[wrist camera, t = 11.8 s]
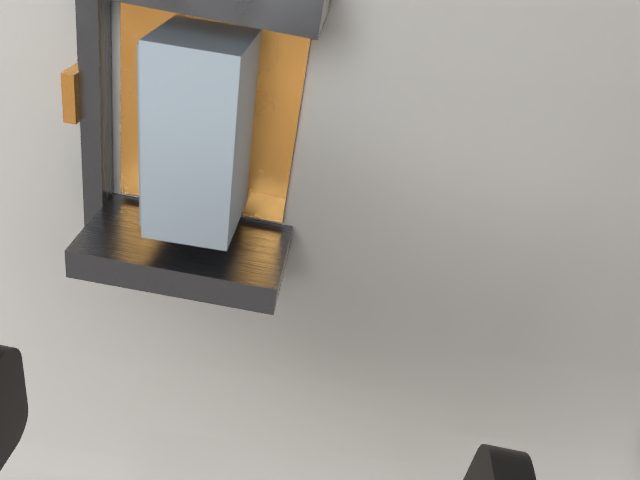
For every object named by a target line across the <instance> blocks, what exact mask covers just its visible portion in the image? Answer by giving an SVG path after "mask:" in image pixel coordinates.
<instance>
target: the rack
mask: <svg viewBox="0 0 640 480" xmlns="http://www.w3.org/2000/svg"><path fill="white" fill-rule="evenodd" d="M111 1H116V2H120V39H121V193H124V194H129V195H135V196H139V159H138V94H137V43H138V42H139V39H141V38H142V37H144V36H145V35H147V34H148V33H150V32H151V31H153V30H154V29H156V28H157V27H158V26H160V25H161V24H163V23H164V22H166V21H167V20H169V19H170V18H172V17H173V16H175V15H178V16H184V17H190V18H196V19H202V20H208V21H214V22H220V23H226V24H232V25H239V26H245V27H251V28H257V29H262V33H261V44H260V56H259V67H258V78H257V90H256V101H255V112H254V124H253V135H252V146H251V158H250V169H249V180H248V192H247V202H246V205H245V207H244V210H243V212H242V215H243V216H248V217H253V218H259V219H264V220H269V221H275V222H280V223H282V221H283V215H284V209H285V202H286V196H287V190H288V183H289V177H290V170H291V164H292V157H293V151H294V144H295V138H296V131H297V125H298V119H299V112H300V106H301V99H302V93H303V86H304V80H305V73H306V67H307V60H308V54H309V48H310V41H311V39H315V40H318V38H319V35H320V32H321V30H322V27H323V24H324V22H325V19H326V16H327V13H328V11H329V5H330V0H75V5H76V29H77V54H78V63H76V64H75V65H73V66H71V67H70V68H68V69H67V70H65V71H63V72H62V73H61V86H62V104H63V122H65V123H71V124H77V123H78V122H80V127H81V151H82V176H83V200H84V225H85V227H84V228H83V230H82V231H81V232H80V233H79V234H78V236H77V237H76V238H75V239H74V240H73V242H72V243H71V244H70V245H69V246H68V247H67V249H66V250H65V263H66V277H69V278H74V279H80V280H85V281H91V282H96V283H102V284H107V285H112V286H118V287H123V288H129V289H134V290H140V291H145V292H151V293H156V294H162V295H167V296H172V297H178V298H183V299H189V300H194V301H200V302H205V303H211V304H216V305H222V306H227V307H233V308H238V309H243V310H249V311H254V312H260V313H265V314H271V315H274V311H275V306H276V302H277V298H278V294H279V290H280V285H281V281H282V277H283V273H284V269H285V264H286V260H287V256H288V252H289V247H290V241H291V235H292V228H293V227H292V226H286V225H281V224H275V223H270V222H265V221H259V220H254V219H248V218H243V217H240V220H239V222H238V225H237V227H236V230H235V232H234V235H233V237H232V239H231V242H230V244H229V247H228V249H227V251H221V250H215V249H209V248H203V247H197V246H191V245H185V244H179V243H172V242H166V241H160V240H154V239H148V238H142V237H141V226H140V224H139V198H135V197H130V196H125V195H119V194H114V193H113V152H112V71H111Z"/></svg>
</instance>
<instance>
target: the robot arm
mask: <svg viewBox="0 0 640 480" xmlns="http://www.w3.org/2000/svg"><path fill="white" fill-rule="evenodd" d="M27 417H28V403H27V395H26V387H25V379H24V371H23V363H22V356H21V353H20V351H19V349H17V348H13V347H8V346H3V345H0V470H1V469H2V467H3V466H4V464H5V463H6V461H7V460H8V458H9V457H10V455H11V454H12V452H13V451H14V449H15V447H16V446H17V444H18V443H19V441H20V439H21V436H22V434H23V432H24V429H25V426H26V422H27ZM463 480H536V477H535V472H534V468H533V464H532V460H531V458H530V456H529V455H528V454H527V453H526V452H521V451H516V450H511V449H506V448H501V447H497V446H492V445H487V444H482V445H481V446H480V447H479V448H478V450H477V452H476V454H475V456H474V458H473V460H472V462H471V465H470V467H469V469H468V471H467V473H466V475H465V477H464V479H463Z"/></svg>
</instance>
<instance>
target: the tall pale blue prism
mask: <svg viewBox="0 0 640 480" xmlns="http://www.w3.org/2000/svg"><path fill="white" fill-rule="evenodd" d="M261 33H262V29H257V28H251V27H245V26H239V25H232V24H226V23H220V22H214V21H208V20H202V19H196V18H190V17H184V16H178V15H175V16H173V17H172V18H170V19H169V20H167V21H166V22H164V23H163V24H161V25H160V26H158V27H157V28H156V29H154V30H153V31H151V32H150V33H148V34H147V35H145V36H144V37H142V38H141V39H139V42H138V43H137V94H138V159H139V224H140V226H141V237H142V238H148V239H154V240H160V241H166V242H172V243H179V244H185V245H191V246H197V247H203V248H209V249H215V250H221V251H227V249H228V247H229V244H230V242H231V239H232V237H233V235H234V232H235V230H236V227H237V225H238V222H239V220H240V217H241V215H242V212H243V210H244V207H245V205H246V202H247V192H248V180H249V169H250V158H251V146H252V135H253V124H254V112H255V101H256V90H257V78H258V67H259V56H260V44H261Z"/></svg>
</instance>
